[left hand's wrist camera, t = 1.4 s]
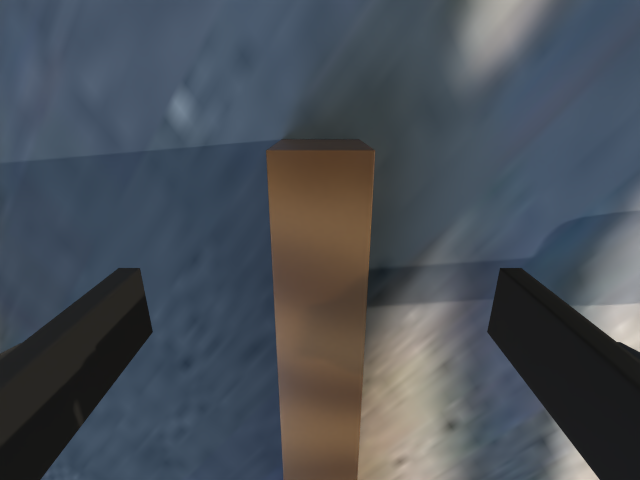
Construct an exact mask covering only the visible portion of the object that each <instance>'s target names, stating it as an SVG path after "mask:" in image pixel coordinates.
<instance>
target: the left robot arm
mask: <svg viewBox="0 0 640 480" xmlns="http://www.w3.org/2000/svg"><path fill="white" fill-rule="evenodd" d="M152 332H153V331H152V326H151V321H150V316H149V311H148V306H147V301H146V296H145V291H144V286H143V281H142V276H141V271H140V268H118V269H117V270H116V271H114V272H113V273H112V274H111V275H109V276H108V277H107V278H105V279H104V280H103V281H102V282H100V283H99V284H98V285H96V286H95V287H94V288H93V289H91V290H90V291H89V292H87V293H86V294H85V295H83V296H82V297H81V298H80V299H78V300H77V301H76V302H74V303H73V304H72V305H71V306H69V307H68V308H67V309H65V310H64V311H63V312H62V313H60V314H59V315H58V316H56V317H55V318H54V319H52V320H51V321H50V322H49V323H47V324H46V325H45V326H43V327H42V328H41V329H40V330H38V331H37V332H36V333H34V334H33V335H32V336H31V337H29V338H28V339H27V340H25V341H24V342H23V343H20V344H18V345H16V346H14V347H12V348H11V349H9V350H7V351H5V352H3V353H1V354H0V480H40V479H41V478H42V477H43V475H44V474H45V473H46V471H47V470H48V469H49V468H50V466H51V465H52V464H53V462H54V461H55V460H56V458H57V457H58V456H59V454H60V453H61V452H62V450H63V449H64V448H65V446H66V445H67V444H68V443H69V441H70V440H71V439H72V437H73V436H74V435H75V433H76V432H77V431H78V429H79V428H80V427H81V425H82V424H83V423H84V422H85V420H86V419H87V418H88V416H89V415H90V414H91V412H92V411H93V410H94V408H95V407H96V406H97V404H98V403H99V402H100V401H101V399H102V398H103V397H104V395H105V394H106V393H107V391H108V390H109V389H110V387H111V386H112V385H113V383H114V382H115V381H116V380H117V378H118V377H119V376H120V374H121V373H122V372H123V370H124V369H125V368H126V366H127V365H128V364H129V362H130V361H131V360H132V359H133V357H134V356H135V355H136V353H137V352H138V351H139V349H140V348H141V347H142V345H143V344H144V343H145V341H146V340H147V339H148V338H149V336H150V335H151V334H152ZM487 332H488V334H489V335H490V336H491V338H492V339H493V340H494V341H495V343H496V344H497V345H498V347H499V348H500V349H501V351H502V352H503V353H504V355H505V356H506V357H507V359H508V360H509V361H510V362H511V364H512V365H513V366H514V368H515V369H516V370H517V372H518V373H519V374H520V376H521V377H522V378H523V380H524V381H525V382H526V383H527V385H528V386H529V387H530V389H531V390H532V391H533V393H534V394H535V395H536V397H537V398H538V399H539V401H540V402H541V403H542V404H543V406H544V407H545V408H546V410H547V411H548V412H549V414H550V415H551V416H552V418H553V419H554V420H555V422H556V423H557V424H558V425H559V427H560V428H561V429H562V431H563V432H564V433H565V435H566V436H567V437H568V439H569V440H570V441H571V443H572V444H573V445H574V446H575V448H576V449H577V450H578V452H579V453H580V454H581V456H582V457H583V458H584V460H585V461H586V462H587V464H588V465H589V466H590V468H591V469H592V470H593V471H594V473H595V474H596V475H597V477H598V478H599V479H600V480H640V352H638V351H636V350H634V349H632V348H630V347H628V346H627V345H625V344H623V343H621V342H616V341H615V340H613V339H612V338H611V337H609V336H608V335H607V334H606V333H604V332H603V331H602V330H600V329H599V328H598V327H597V326H595V325H594V324H593V323H591V322H590V321H589V320H588V319H586V318H585V317H584V316H582V315H581V314H580V313H578V312H577V311H576V310H575V309H573V308H572V307H571V306H569V305H568V304H567V303H566V302H564V301H563V300H562V299H560V298H559V297H558V296H557V295H555V294H554V293H553V292H551V291H550V290H549V289H547V288H546V287H545V286H544V285H542V284H541V283H540V282H538V281H537V280H536V279H535V278H533V277H532V276H531V275H529V274H528V273H527V272H526V271H524V270H523V269H522V268H500V271H499V276H498V281H497V286H496V291H495V296H494V301H493V306H492V311H491V316H490V321H489V326H488V331H487Z"/></svg>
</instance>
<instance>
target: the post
mask: <svg viewBox="0 0 640 480" xmlns="http://www.w3.org/2000/svg"><path fill="white" fill-rule="evenodd" d="M266 158H267V177H268V195H269V214H270V233H271V252H272V271H273V290H274V309H275V328H276V347H277V365H278V384H279V403H280V422H281V441H282V460H283V479H284V480H357V474H358V455H359V437H360V419H361V400H362V382H363V363H364V345H365V327H366V308H367V290H368V272H369V253H370V235H371V217H372V198H373V180H374V162H375V150H374V149H372V148H371V147H369V146H368V145H366V144H365V143H363V142H362V141H361V140H359V139H282V140H280V141H279V142H277V143H276V144H275V145H273V146H272V147H270V148H269V149H268V150H266Z"/></svg>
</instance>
